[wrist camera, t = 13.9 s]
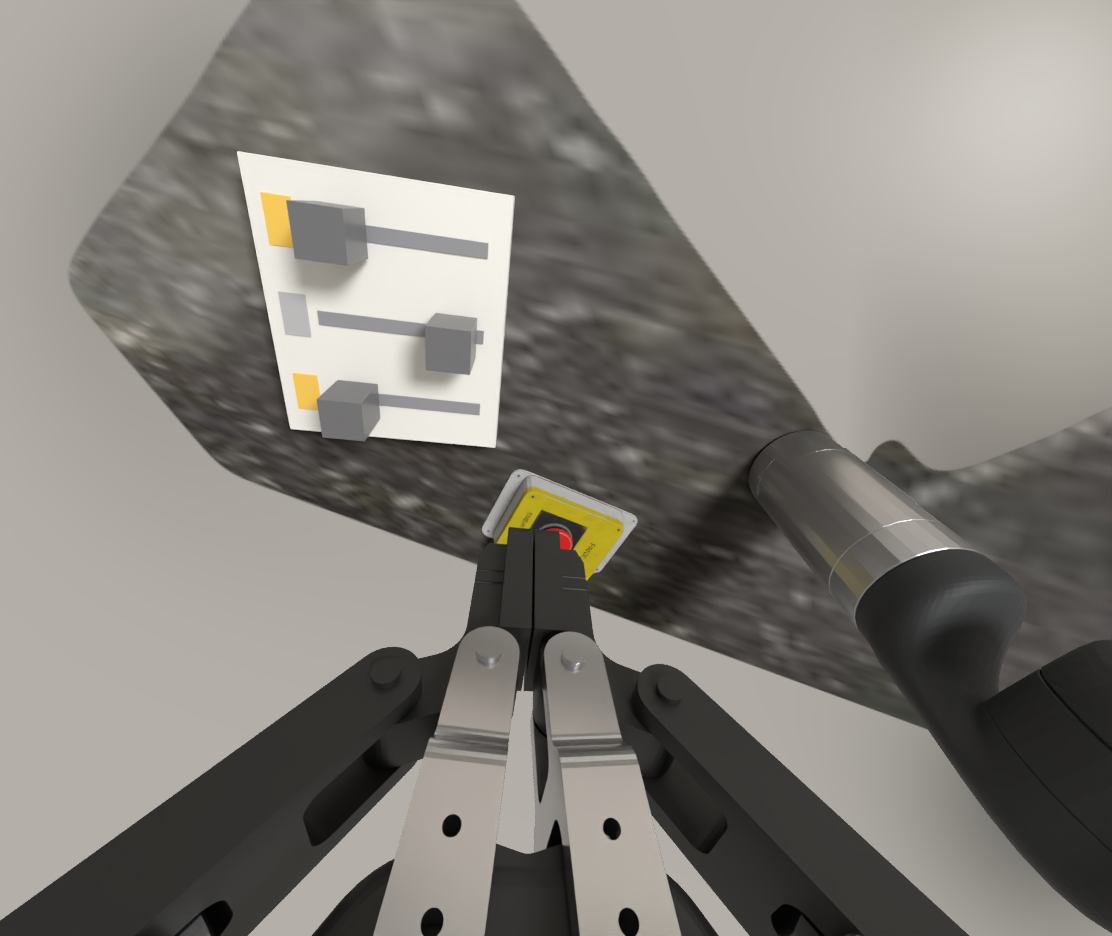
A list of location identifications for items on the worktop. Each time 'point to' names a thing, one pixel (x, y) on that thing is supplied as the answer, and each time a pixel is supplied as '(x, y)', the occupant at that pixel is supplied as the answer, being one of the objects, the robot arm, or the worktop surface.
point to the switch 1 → (327, 232)
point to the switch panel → (385, 296)
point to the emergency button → (560, 518)
